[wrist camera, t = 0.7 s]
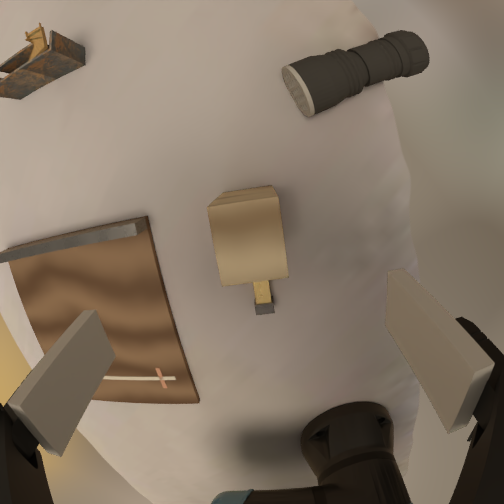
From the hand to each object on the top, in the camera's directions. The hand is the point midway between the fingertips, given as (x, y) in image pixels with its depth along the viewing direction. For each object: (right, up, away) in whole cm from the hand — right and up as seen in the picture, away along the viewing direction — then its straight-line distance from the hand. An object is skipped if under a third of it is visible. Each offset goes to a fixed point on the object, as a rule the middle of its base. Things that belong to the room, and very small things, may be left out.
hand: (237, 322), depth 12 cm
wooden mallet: (+1, +3, +20) cm, 20 cm away
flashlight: (+11, +22, +14) cm, 28 cm away
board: (-21, -7, +23) cm, 32 cm away
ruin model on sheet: (-25, +25, +14) cm, 38 cm away
